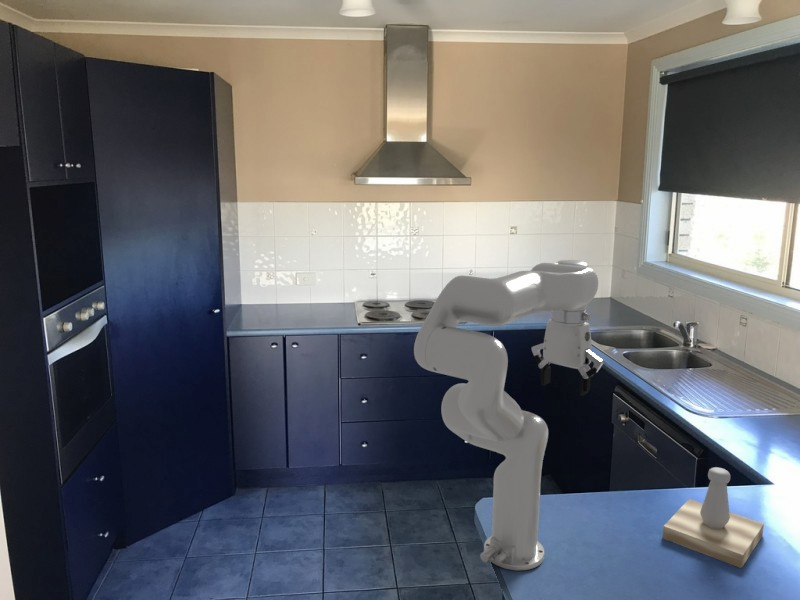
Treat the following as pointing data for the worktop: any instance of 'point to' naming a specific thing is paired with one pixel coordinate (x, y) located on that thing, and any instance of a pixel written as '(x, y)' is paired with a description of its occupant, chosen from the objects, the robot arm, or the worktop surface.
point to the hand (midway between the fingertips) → (564, 388)
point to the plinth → (714, 534)
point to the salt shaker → (716, 500)
